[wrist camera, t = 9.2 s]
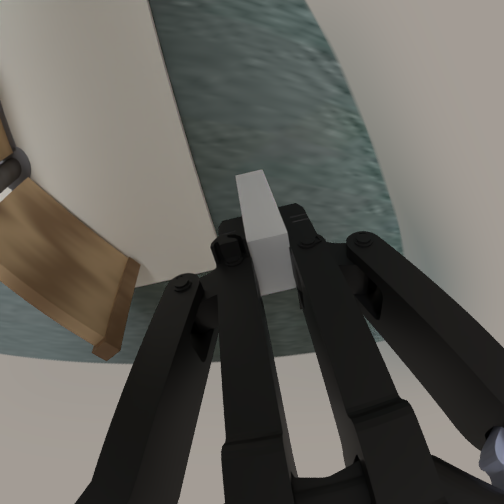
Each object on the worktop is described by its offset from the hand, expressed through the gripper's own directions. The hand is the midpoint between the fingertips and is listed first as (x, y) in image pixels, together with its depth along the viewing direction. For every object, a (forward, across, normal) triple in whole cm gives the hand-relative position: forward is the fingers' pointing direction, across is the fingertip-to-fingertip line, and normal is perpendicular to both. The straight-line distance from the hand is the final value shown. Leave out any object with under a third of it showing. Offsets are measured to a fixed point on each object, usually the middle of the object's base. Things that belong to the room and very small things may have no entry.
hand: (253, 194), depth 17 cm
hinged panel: (+1, -12, 0) cm, 12 cm away
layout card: (+2, -12, +6) cm, 13 cm away
